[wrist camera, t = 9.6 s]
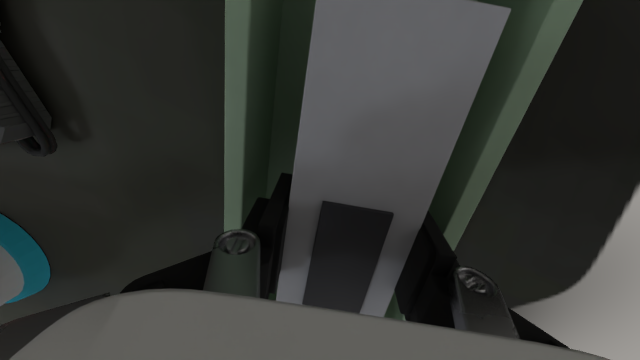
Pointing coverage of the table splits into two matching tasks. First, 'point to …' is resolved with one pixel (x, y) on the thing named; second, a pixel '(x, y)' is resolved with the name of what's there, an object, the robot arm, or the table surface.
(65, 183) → the table surface
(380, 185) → the remote
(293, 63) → the tray
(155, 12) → the table surface
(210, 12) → the table surface
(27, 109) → the walkie-talkie
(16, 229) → the model tower
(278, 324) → the robot arm
